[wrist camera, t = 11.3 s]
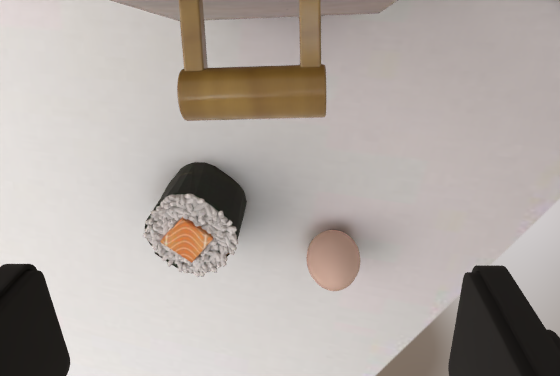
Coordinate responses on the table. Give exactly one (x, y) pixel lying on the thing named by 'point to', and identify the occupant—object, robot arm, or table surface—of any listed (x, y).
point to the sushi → (197, 219)
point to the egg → (333, 260)
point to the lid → (253, 80)
